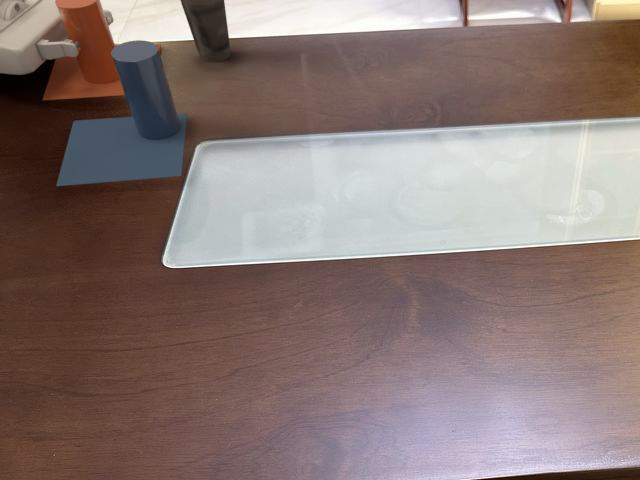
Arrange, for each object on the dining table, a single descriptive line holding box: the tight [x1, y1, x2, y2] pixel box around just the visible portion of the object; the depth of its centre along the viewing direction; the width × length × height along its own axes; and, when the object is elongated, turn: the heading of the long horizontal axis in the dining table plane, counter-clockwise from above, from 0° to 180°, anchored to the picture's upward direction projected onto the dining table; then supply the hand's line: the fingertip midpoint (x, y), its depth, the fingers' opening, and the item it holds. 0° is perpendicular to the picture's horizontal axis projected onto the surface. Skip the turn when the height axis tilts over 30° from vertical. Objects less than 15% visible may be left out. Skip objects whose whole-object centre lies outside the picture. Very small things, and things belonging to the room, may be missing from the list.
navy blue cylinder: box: [111, 39, 180, 140], centre depth 95 cm, size 6×6×11 cm
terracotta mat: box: [42, 43, 162, 101], centre depth 108 cm, size 15×15×1 cm
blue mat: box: [55, 112, 188, 187], centre depth 96 cm, size 15×15×1 cm
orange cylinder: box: [55, 0, 119, 84], centre depth 103 cm, size 6×6×11 cm
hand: (94, 33), depth 103 cm, fingers open, 8 cm apart
